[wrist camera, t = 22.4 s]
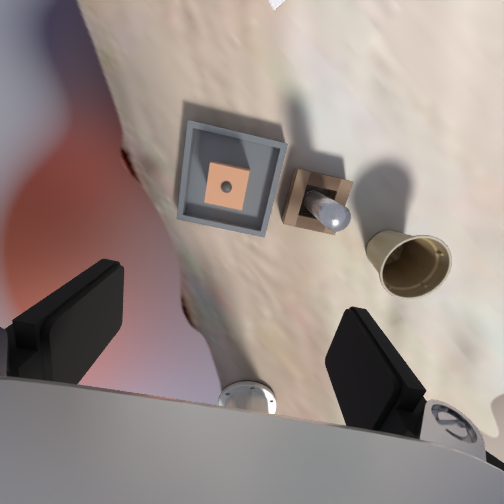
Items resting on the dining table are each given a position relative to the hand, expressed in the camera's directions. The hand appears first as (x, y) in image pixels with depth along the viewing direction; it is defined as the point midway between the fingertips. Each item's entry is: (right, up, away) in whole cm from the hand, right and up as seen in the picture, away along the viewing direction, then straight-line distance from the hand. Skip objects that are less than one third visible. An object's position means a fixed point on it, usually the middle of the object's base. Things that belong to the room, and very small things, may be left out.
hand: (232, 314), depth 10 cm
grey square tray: (-2, +13, +27) cm, 31 cm away
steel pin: (+10, +11, +28) cm, 32 cm away
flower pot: (+23, +3, +31) cm, 39 cm away
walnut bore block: (+10, +11, +28) cm, 32 cm away
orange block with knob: (-2, +13, +27) cm, 30 cm away
